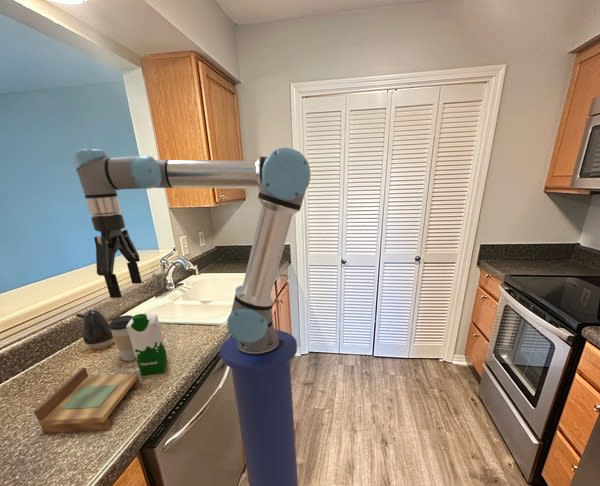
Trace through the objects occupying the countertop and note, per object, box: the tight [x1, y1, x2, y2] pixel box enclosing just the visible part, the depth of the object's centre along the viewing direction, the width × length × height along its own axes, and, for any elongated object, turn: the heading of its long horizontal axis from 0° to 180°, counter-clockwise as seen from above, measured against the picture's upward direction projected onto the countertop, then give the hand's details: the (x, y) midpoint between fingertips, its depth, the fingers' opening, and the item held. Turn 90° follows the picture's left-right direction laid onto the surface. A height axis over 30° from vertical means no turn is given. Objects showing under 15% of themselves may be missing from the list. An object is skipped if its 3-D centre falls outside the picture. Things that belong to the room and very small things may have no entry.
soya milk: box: [126, 313, 168, 377], centre depth 105 cm, size 9×9×20 cm
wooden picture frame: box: [33, 367, 141, 434], centre depth 90 cm, size 16×20×7 cm
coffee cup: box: [109, 314, 136, 361], centre depth 115 cm, size 9×9×15 cm
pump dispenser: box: [75, 309, 115, 350], centre depth 123 cm, size 10×10×15 cm
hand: (127, 290), depth 95 cm, fingers open, 13 cm apart
